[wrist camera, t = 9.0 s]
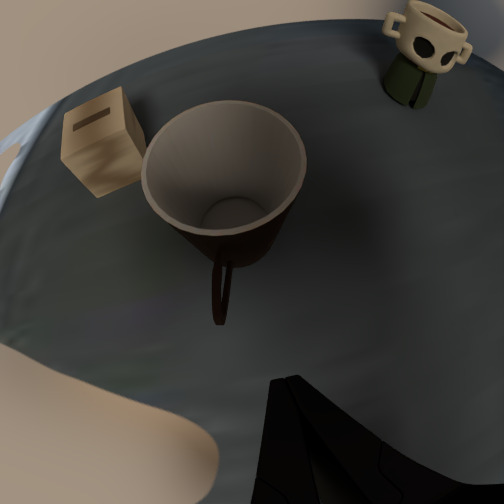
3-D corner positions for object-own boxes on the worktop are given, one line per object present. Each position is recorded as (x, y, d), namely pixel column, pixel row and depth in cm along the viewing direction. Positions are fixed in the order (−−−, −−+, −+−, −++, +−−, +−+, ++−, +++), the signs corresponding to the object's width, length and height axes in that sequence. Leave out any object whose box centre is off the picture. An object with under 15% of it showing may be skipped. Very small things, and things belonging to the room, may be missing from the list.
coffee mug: (216, 170, 26) (197, 87, 16) (305, 208, 24) (329, 130, 15) (146, 283, 23) (80, 243, 13) (241, 336, 21) (226, 331, 12)
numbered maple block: (95, 199, 25) (57, 160, 18) (92, 155, 27) (61, 114, 20) (152, 175, 26) (124, 127, 19) (143, 132, 28) (120, 85, 21)
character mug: (367, 101, 28) (399, 10, 16) (361, 67, 30) (384, -13, 18) (445, 125, 28) (492, 52, 15) (433, 89, 30) (467, 22, 17)
